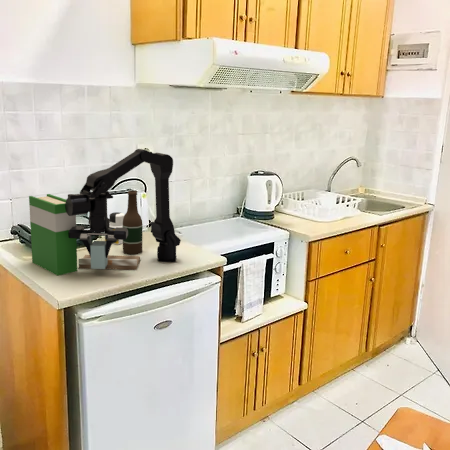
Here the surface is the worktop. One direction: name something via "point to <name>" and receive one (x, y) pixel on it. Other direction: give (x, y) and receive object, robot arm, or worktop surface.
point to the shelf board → (113, 262)
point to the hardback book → (52, 235)
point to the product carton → (98, 255)
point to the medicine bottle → (116, 224)
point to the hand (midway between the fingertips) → (99, 257)
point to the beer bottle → (132, 227)
